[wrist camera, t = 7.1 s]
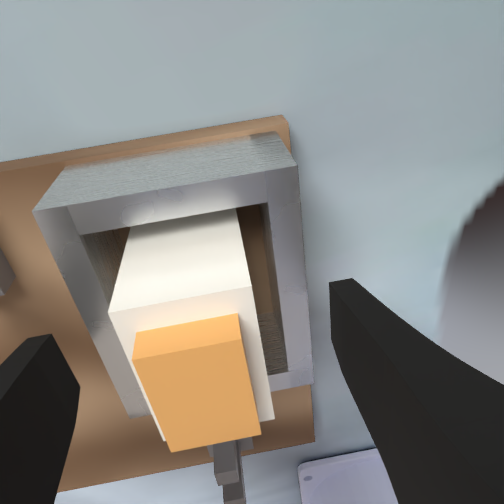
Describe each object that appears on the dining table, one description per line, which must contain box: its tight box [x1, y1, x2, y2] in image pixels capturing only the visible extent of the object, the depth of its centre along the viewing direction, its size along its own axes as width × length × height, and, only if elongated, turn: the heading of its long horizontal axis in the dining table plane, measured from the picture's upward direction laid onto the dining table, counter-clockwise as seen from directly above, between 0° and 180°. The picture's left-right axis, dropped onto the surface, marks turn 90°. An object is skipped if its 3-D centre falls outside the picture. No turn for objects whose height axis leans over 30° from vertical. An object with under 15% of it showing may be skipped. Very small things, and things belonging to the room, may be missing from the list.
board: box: [0, 115, 315, 493], centre depth 16 cm, size 16×14×1 cm
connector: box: [108, 208, 275, 453], centre depth 11 cm, size 4×3×6 cm, turn 8°
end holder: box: [32, 130, 314, 419], centre depth 13 cm, size 8×6×3 cm
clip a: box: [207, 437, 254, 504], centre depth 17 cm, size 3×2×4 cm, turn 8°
